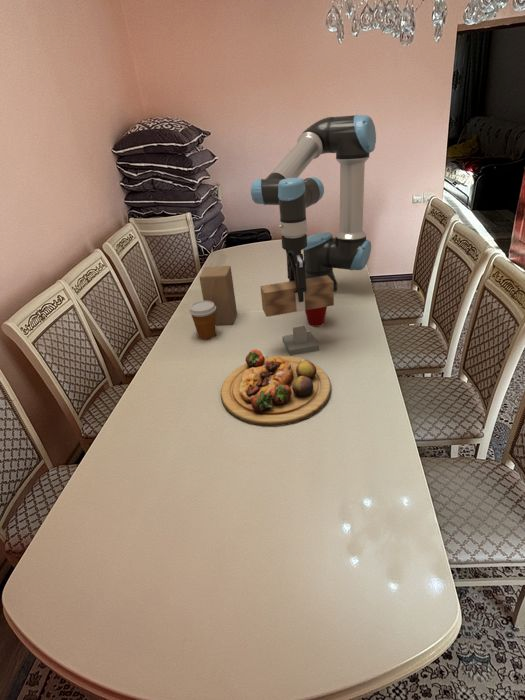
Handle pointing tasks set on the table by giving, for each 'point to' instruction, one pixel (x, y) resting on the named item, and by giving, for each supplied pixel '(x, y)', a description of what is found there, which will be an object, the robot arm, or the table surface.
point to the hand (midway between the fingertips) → (297, 305)
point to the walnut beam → (284, 299)
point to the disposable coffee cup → (204, 319)
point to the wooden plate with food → (275, 390)
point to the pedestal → (300, 341)
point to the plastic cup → (316, 316)
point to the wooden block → (219, 292)
